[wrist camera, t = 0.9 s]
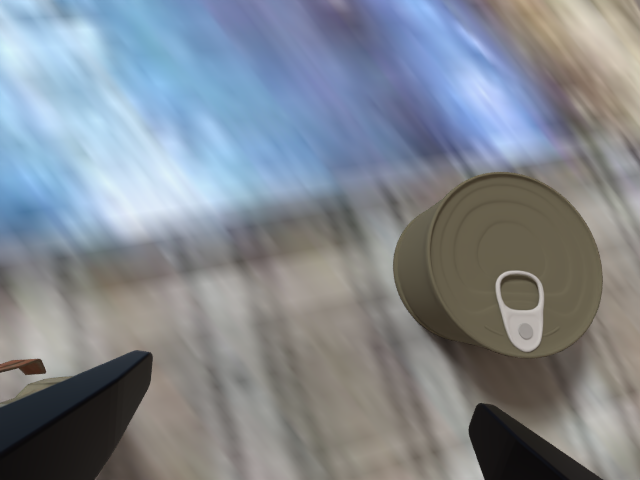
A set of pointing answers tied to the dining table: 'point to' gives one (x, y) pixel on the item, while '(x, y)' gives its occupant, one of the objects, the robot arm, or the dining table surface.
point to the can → (501, 267)
